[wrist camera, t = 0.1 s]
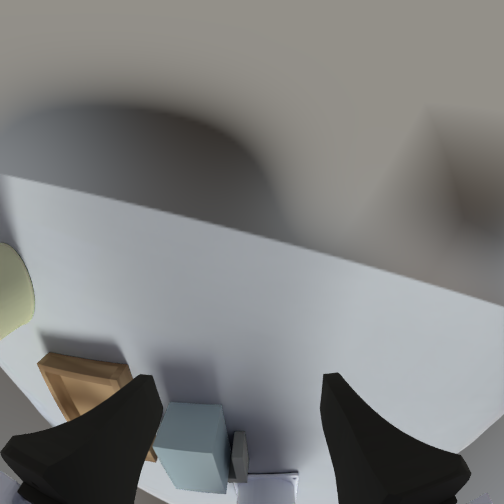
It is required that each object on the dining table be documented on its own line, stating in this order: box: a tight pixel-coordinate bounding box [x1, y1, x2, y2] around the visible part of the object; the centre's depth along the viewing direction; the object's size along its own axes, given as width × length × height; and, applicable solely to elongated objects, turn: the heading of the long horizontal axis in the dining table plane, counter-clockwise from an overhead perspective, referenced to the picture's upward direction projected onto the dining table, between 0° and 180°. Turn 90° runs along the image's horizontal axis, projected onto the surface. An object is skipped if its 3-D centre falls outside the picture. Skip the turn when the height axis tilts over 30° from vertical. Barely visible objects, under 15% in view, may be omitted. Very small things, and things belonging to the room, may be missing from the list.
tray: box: [37, 352, 158, 462], centre depth 23 cm, size 13×11×2 cm
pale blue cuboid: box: [152, 402, 231, 494], centre depth 21 cm, size 8×5×6 cm, turn 4°
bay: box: [156, 431, 249, 483], centre depth 23 cm, size 6×9×4 cm, turn 94°
